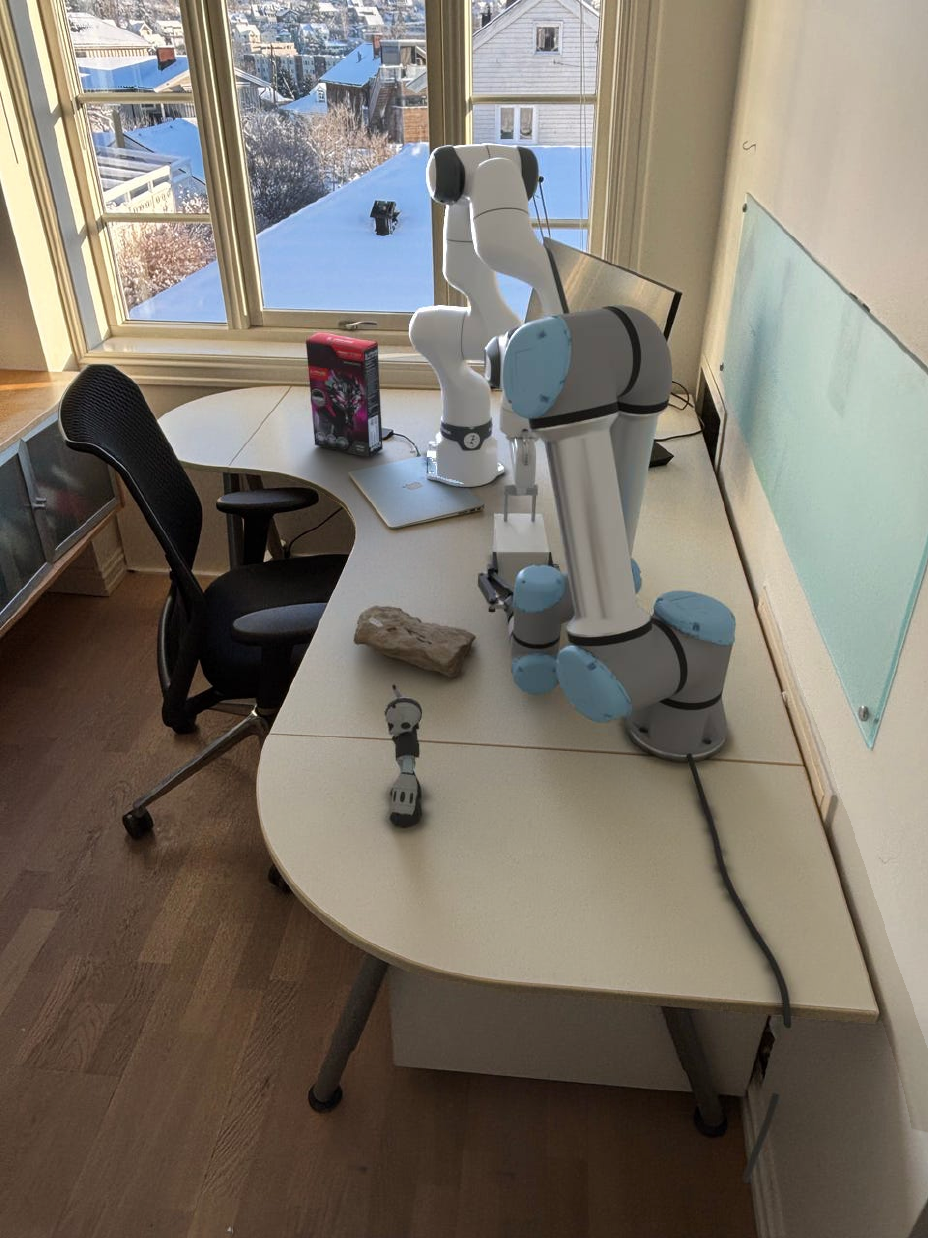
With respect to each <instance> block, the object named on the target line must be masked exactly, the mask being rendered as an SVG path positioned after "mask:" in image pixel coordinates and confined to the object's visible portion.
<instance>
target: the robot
mask: <svg viewBox="0 0 928 1238" xmlns="http://www.w3.org/2000/svg"><path fill="white" fill-rule="evenodd" d="M391 688H392V690H393V692H394V695H395V697H396V698H395V699H393V700H392V701H390V702H389V703H388V704H387V705H386V707H385V710H384V711H383V712H384V714H383V715H384V716H385V718H384V719H385V721H386V723H387V728H388V735H389V736H392V737H391V740H392V741H393V744H394V745H395V746H394V751H395V752H394V754H395V755H394V757H395V762H396V763H397V765H398V767H399V770H400V771H399V772H400V773H398V776H397V777H396V779H395V781H394V783H393V787H392V788H391V790H390V793H389V794H390V797H391V802H390V805H391V814H390V816H389V821H390V822H392V823H393V825H394V826H396V827H400V828H408V827H411V826H413V825H416V824H418V823H420V822H421V819H422V816H423V812H422V811H423V810H422V805H421V801H420V799H421V798H422V797H423V794H422V787H421V784H420V781H419V778H418V777H417V774H416V773H415V771H414V769H415V767H416V758H419V759H420V755H421V754H420V742H419V739H418V731H419V729H420V723H419V722H421V720H422V717H423V708H422V706H421V704H420V703H419V702H418V701H417V700H415V699H414V698H411V697H409V696H403V695H402V694H401V692H400V691H399V688H398V687H397V686H396V684H392V685H391Z"/></svg>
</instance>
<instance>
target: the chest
mask: <svg viewBox="0 0 928 1238" xmlns="http://www.w3.org/2000/svg"><path fill="white" fill-rule="evenodd" d="M492 542H493V547H492V553H493V552H497V546H496V534H495V522H494V521H493V541H492ZM497 562H498V575H499V576H500V577H501V578H502V579H503V580H504V581H506V582H507V583H508V584H509V585H510V586H514V587H515V584H516V578H517V575H518V574H519V573H520V572H521V571H522V570H523V569H525V568H527V567H529V566H533V565H534V566H541V565H546V566H548V562H549V556H497ZM495 593H496V596H499V597H501V596H500V595H499V594H498V593H497V592H496V591H495Z"/></svg>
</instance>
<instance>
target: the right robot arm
mask: <svg viewBox="0 0 928 1238" xmlns="http://www.w3.org/2000/svg"><path fill="white" fill-rule="evenodd" d="M502 378H503V387H504V391H505V395H506V398H507V400H508V402H509V403H511V404H512V405H511V408H512V409H513V411H514V412H515V413H516V414H517V415H519V416H521V417H523V418H526V419H528V420H529V425H530V430H531V432H532V433H534V434H535V435H536V436H538V437H539V438H540V439H541V440H542V442H543V443H544V446H545V453H546V458H547V464H548V470H549V476H550V481H551V482H550V483H551V488H552V492H553V498H554V499H553V500H554V503H555V505H554V506H555V510H556V515H557V522H558V526H559V533H560V538H561V543H562V544H561V545H562V549H563V555H564V562H565V566H566V567H565V568H566V571H563V572H562V571H561V568H560V565H559V563H554V561H553V555H552V551H549V562H548V566H546V565H541V566H534V565H533V566H529V567H527V568H525V569H523V570H522V571H521V572H520V573H519V574H518V575H517V578H516V584H515V587H514V586H510V585H509V584H508V583H507V582H506V581H504V580H503V579H502V578H501V577H500V576H499V575H498V562H497V552H493V551H492V554H491V555H492V557H491V558H492V559H491V562H492V563H488V564H487V565H486V573H484V572H478V573H477V587H478V588H479V591H480V592H481V594H482V596H483V598H484V600H485V602H486V603H487V605H488V607H487V608H488V613H490V614H493V613H495V612H496V610H503V611H504V613H506V619H507V620H506V621H507V629H508V630H507V631H508V641H509V647H510V659H511V660H510V662H511V669H510V670H511V672H510V673H511V674H512V677H513V681H514V684H515V686H516V687H517V689H519V690H520V691H521V692H524V694H525V693H526V694H527V695H543V694H547V693H549V692H551V691H552V690H554V688H556V687H557V685H558V684H559V685H560V688H561V690H562V691H563V694H564V695H565V697H566V698H567V700H568V701H569V703H570V704H571V705H572V706H573V707H574V709H575V710H577V712H578V713H579V714H581V715H582V716H583V717H584V718H586V719H588V720H589V721H592V722H595V723H598V724H606V723H610V722H612V721H615V720H618V719H620V718H621V719H623V718H626V719H625V728H626V732H627V734H628V736H629V738H630V739H631V741H632V742H634V744H636V745H637V746H638V747H639V748H640V749H641V750H643V751H645V752H646V753H648V754H650V755H651V756H654V757H656V758H659V759H662V760H666V761H670V762H675V763H688V765H689V768H690V772H691V774H692V778H693V781H694V783H695V787H696V791H697V794H698V796H699V800H700V803H701V806H702V809H703V812H704V815H705V818H706V822H707V825H708V828H709V831H710V833H711V834H710V835H711V838H712V843H713V846H714V853H715V857H716V861H717V865H718V868H719V872H720V874H721V877H722V880H723V882H724V885H725V887H726V889H727V891H728V894H729V895H730V898H731V900H732V902H733V903H734V905H735V907H736V909H737V910H738V913H739V914H740V916H741V918H742V920H743V922H744V924H745V925H746V927H747V929H748V931H749V932H750V934H751V936H752V938H753V939H754V940H755V942H756V943H757V945H758V946H759V949H761V951H762V953H763V954H764V956H765V957H766V960H767V961H768V964H769V965H770V967H771V969H772V971H773V973H774V976H775V979H776V981H777V984H778V987H779V991H780V997H781V1005H782V1016H783V1017H782V1020H783V1026H784V1027H785V1028H786V1029H791V1027H792V1015H791V1014H792V1013H791V1002H790V996H789V991H788V987H787V984H786V981H785V978H784V976H783V973H782V971H781V968H780V965H779V963H778V961H777V960H776V958H775V956H774V954H773V953H772V951H771V949H770V948H769V946H768V945H767V943H766V942H765V940H764V939H763V937H762V935H761V934H760V932H759V931H758V929H757V927H756V926H755V925H754V922H753V921H752V919H751V917H750V915H749V914H748V912H747V909H746V908H745V907H744V905H743V903H742V900H741V899H740V897H739V896H738V894H737V891H736V890H735V888H734V885H733V883H732V880H731V879H730V876H729V874H728V870H727V868H726V864H725V860H724V857H723V853H722V852H723V851H722V847H721V843H720V838H719V835H718V831H717V828H716V824H715V822H714V818H713V815H712V812H711V810H710V806H709V804H708V800H707V797H706V794H705V791H704V787H703V785H702V782H701V779H700V775H699V772H698V769H697V766H696V763H695V762H700V761H703V760H706V759H709V758H711V757H714V755H716V754H718V752H720V751H721V750H722V748H723V747H724V744H725V743H726V740H727V739H726V738H727V733H728V721H727V716H726V712H725V708H724V707H725V706H724V701H723V692H724V686H725V682H726V678H727V674H728V673H727V672H728V668H729V664H730V659H731V654H732V651H733V647H734V643H735V642H736V637H735V634H736V627H737V626H736V625H737V622H736V617H735V615H734V613H733V611H732V610H731V609H730V608H729V607H728V606H727V605H726V604H724V603H723V602H722V601H720V600H719V599H717V598H714V597H712V596H710V595H707V594H704V593H701V592H696V591H693V590H680V589H679V590H678V589H677V590H670V591H666V592H664V593H662V594H660V595H659V596H658V597H656V600H655V603H654V604H653V607H652V609H653V613H652V614H651V613H650V612H649V611H648V610H646V609H645V608H643V607H642V606H640V605H639V603H638V600H637V599H638V598H637V594H638V593H639V592H640V590H641V587H642V583H643V579H642V577H641V573H642V571H641V568H640V566H639V564H638V563H637V561H636V560H635V559H634V558H633V557H632V554H633V549H634V545H635V540H636V534H637V530H638V525H639V524H638V523H639V519H640V513H641V508H642V504H643V499H644V498H643V497H644V493H645V487H646V483H647V477H648V473H649V467H650V461H651V457H652V451H653V446H654V441H655V435H656V431H657V425H658V420H659V416H660V415H662V414H663V413H664V412H666V411H667V409H668V407H669V403H670V398H671V393H672V385H673V364H672V356H671V351H670V348H669V344H668V341H667V339H666V337H665V335H664V333H663V331H662V330H661V328H660V327H659V325H658V324H657V322H656V321H654V319H652V318H651V317H650V316H649V315H648V314H646V313H645V312H643V311H642V310H640V309H638V308H635V307H633V306H629V305H624V304H623V305H622V304H616V305H615V304H614V305H613V304H612V305H608V306H603V307H601V308H595V309H588V310H582V311H574V312H570V313H567V314H560V315H554V316H548V317H546V318H545V317H542V318H539V319H535V320H532V321H529V322H526V323H524V325H522V326H521V327H520V328H518V329H517V330H516V331H515V333H514V334H513V335H512V337H511V339H510V340H509V344H508V347H507V348H506V351H505V355H504V359H503V368H502ZM496 592H497V593H498V594H499V595H500V596H496ZM500 597H501V598H502V599H504V601H502V600H501V599H500ZM567 622H568V623H567ZM564 623H567V625H566V627H565V629H566V636H567V641H568V645H566V646H564V647H563V648H562V649H561V650H560V641H561V633H562V627H563V624H564ZM779 1098H780V1094H778V1093H775V1092H772V1093H771V1098H770V1101H769V1104H768V1107H767V1110H766V1113H765V1115H764V1116H765V1117H764V1120H763V1122H762V1125H761V1127H760V1130H759V1133H758V1135H757V1137H756V1141H755V1143H754V1145H753V1148H752V1150H751V1153H750V1156H749V1158H748V1161H747V1164H746V1167H745V1171H744V1173H743V1177H742V1182H743V1183H745V1184H748V1183H750V1180H751V1176H752V1175H753V1174H752V1173H753V1172H754V1171H753V1170H754V1168H755V1165H756V1162H757V1160H758V1157H759V1155H760V1152H761V1150H762V1147H763V1145H764V1142H765V1140H766V1137H767V1135H768V1132H769V1130H770V1127H771V1124H772V1121H773V1118H774V1115H775V1113H776V1109H777V1106H778V1103H779Z"/></svg>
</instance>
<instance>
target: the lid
mask: <svg viewBox="0 0 928 1238" xmlns="http://www.w3.org/2000/svg"><path fill="white" fill-rule="evenodd" d="M538 493H539V485H538V484H536V483H535V485H534V487H533V488H526V494H525V495H518V494H517V492H516V487H515V483H514V484H513V483H511V484H507V483H504V484H503V497H504V498H503V513H494V514H493V523H494V522H495V534H496V546H497V556H549V552H550V549H549V543H548V538H547V533H546V526H545V522H544V521H545V520H544V516H543V513H536V509H537V497H538V495H539V494H538ZM509 496H510V497H513V496H515V497H516V496H520V497H521V496H522V497H524V496H525V497H526V496H528V497H529V496H531V497H532V498H531V513H509V512H508V511H509Z"/></svg>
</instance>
